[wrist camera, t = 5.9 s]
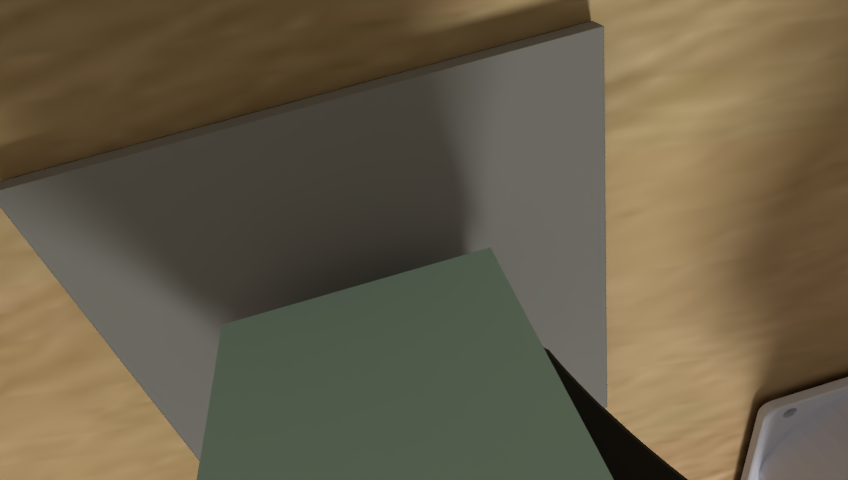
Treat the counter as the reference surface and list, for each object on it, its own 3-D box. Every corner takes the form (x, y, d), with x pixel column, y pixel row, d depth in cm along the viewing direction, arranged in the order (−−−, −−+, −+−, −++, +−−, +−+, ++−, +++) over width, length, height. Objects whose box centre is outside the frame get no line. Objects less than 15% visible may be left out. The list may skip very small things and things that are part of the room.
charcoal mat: (592, 20, 11) (603, 26, 10) (599, 394, 18) (607, 406, 17) (2, 180, 10) (-12, 193, 10) (245, 503, 17) (244, 518, 17)
